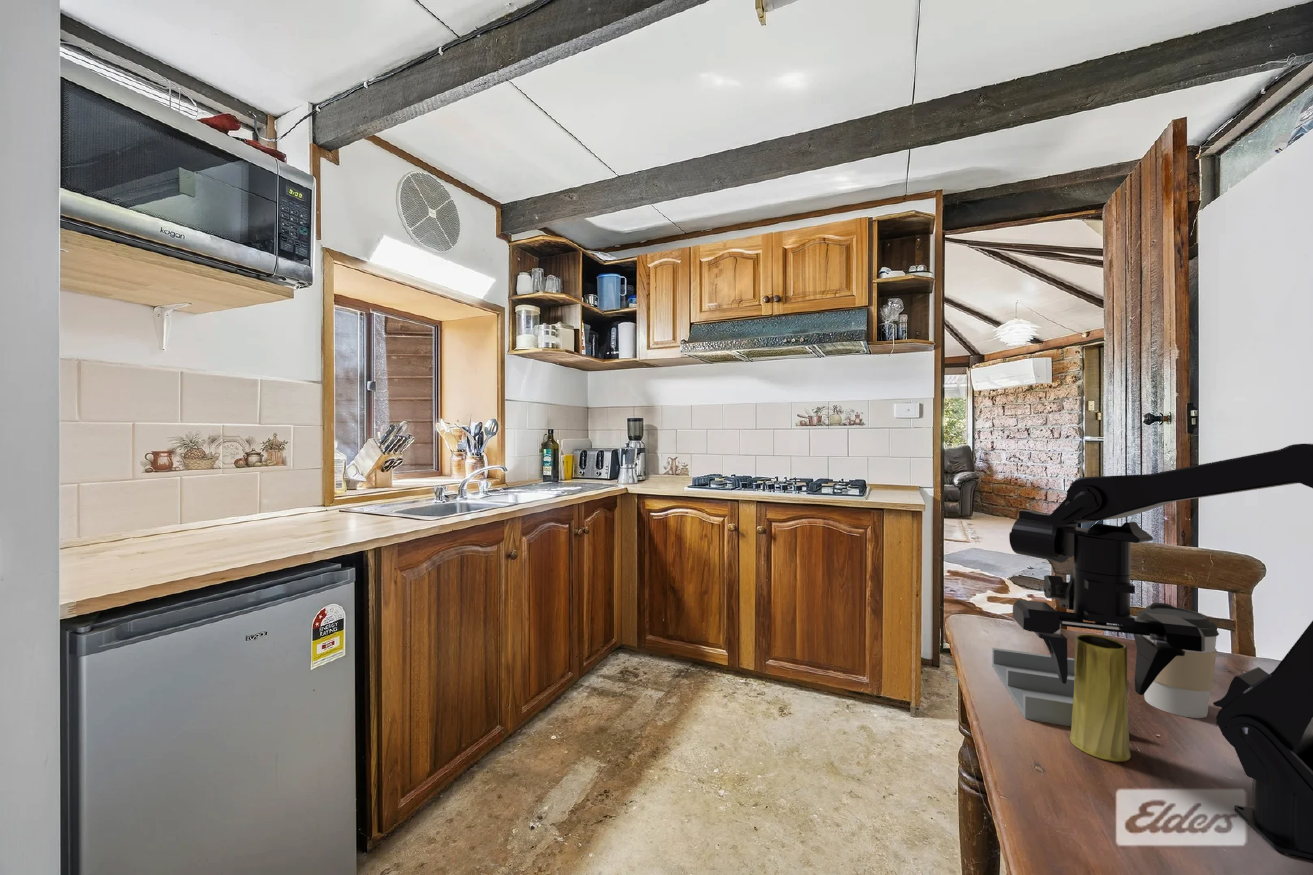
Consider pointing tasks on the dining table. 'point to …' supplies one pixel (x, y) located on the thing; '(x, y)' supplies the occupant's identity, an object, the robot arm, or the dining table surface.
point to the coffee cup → (1185, 669)
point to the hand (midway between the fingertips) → (1100, 687)
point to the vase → (1100, 698)
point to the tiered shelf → (1036, 685)
